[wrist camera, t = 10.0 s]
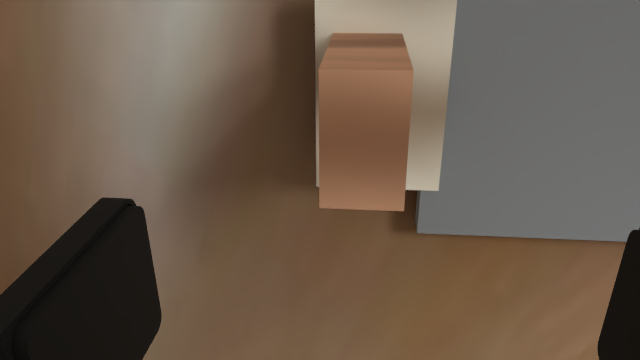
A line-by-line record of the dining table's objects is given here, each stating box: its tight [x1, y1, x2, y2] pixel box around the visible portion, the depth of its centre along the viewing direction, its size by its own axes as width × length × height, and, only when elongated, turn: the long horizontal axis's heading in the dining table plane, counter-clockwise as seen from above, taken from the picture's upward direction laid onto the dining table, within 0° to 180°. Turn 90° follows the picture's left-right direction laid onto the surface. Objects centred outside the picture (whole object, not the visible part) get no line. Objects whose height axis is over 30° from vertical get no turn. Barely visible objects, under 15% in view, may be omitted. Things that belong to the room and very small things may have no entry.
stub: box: [315, 0, 457, 211], centre depth 21 cm, size 10×6×8 cm, turn 0°
